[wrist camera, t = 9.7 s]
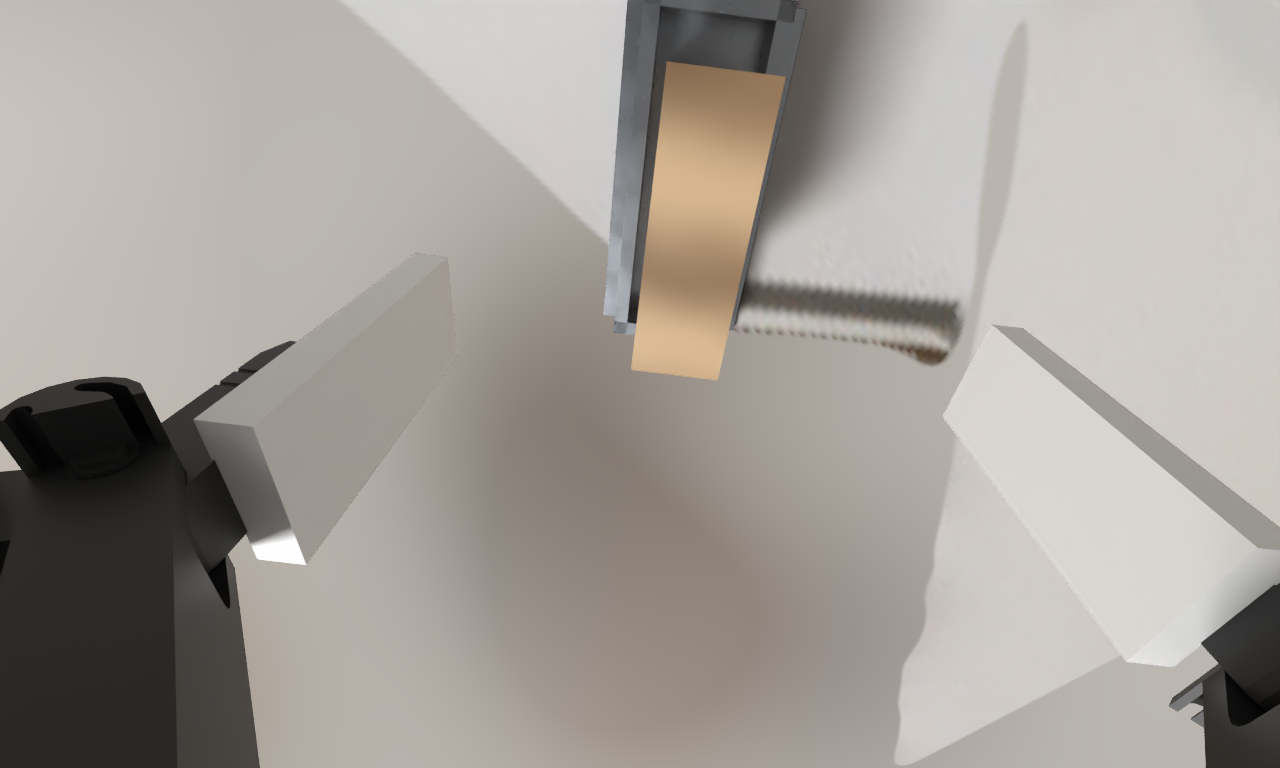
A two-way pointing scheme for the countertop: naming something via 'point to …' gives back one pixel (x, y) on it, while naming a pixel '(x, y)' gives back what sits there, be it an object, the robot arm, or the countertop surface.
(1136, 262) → the countertop surface
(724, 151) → the panel
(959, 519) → the countertop surface
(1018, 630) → the countertop surface
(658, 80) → the track
